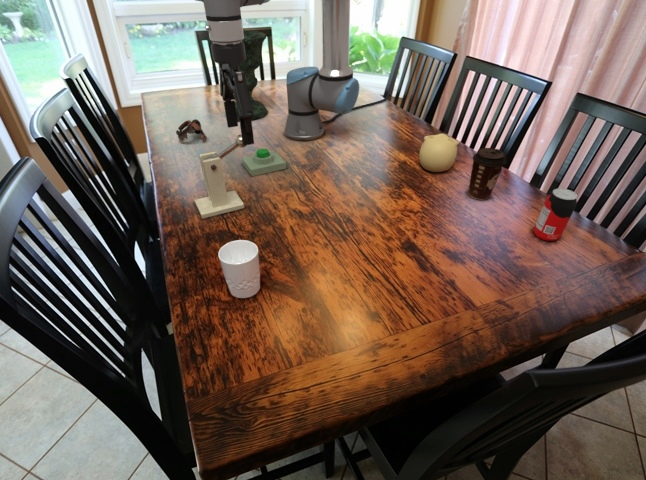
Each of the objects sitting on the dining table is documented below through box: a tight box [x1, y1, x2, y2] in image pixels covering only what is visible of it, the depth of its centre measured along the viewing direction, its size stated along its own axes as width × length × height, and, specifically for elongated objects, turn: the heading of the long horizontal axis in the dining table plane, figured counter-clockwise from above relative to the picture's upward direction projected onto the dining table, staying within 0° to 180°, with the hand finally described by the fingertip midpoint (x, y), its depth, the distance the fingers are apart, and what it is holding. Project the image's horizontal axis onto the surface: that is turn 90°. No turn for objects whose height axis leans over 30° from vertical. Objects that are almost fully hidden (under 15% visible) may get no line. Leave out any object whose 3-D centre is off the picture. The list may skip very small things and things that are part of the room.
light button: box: [255, 148, 270, 158], centre depth 124 cm, size 4×4×2 cm
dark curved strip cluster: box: [175, 118, 207, 143], centre depth 144 cm, size 12×10×8 cm
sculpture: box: [418, 133, 460, 173], centre depth 122 cm, size 12×12×11 cm
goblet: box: [207, 29, 268, 122], centre depth 157 cm, size 22×23×30 cm
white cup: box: [217, 239, 261, 299], centre depth 79 cm, size 8×8×10 cm
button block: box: [241, 150, 287, 177], centre depth 126 cm, size 12×10×4 cm
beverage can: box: [533, 187, 578, 242], centre depth 92 cm, size 6×6×12 cm
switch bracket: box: [194, 151, 246, 220], centre depth 104 cm, size 12×9×15 cm
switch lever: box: [205, 134, 247, 160], centre depth 100 cm, size 13×3×3 cm, turn 116°
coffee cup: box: [467, 147, 508, 201], centre depth 108 cm, size 9×8×13 cm
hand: (240, 135), depth 99 cm, fingers open, 13 cm apart
